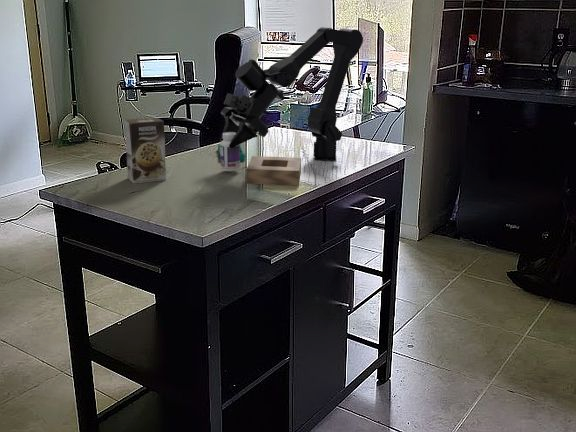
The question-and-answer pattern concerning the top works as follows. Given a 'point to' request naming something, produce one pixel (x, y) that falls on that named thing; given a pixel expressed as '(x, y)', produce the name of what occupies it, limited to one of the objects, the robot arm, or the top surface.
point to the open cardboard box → (273, 170)
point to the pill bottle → (229, 152)
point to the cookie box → (145, 150)
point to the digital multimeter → (242, 155)
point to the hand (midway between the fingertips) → (225, 144)
